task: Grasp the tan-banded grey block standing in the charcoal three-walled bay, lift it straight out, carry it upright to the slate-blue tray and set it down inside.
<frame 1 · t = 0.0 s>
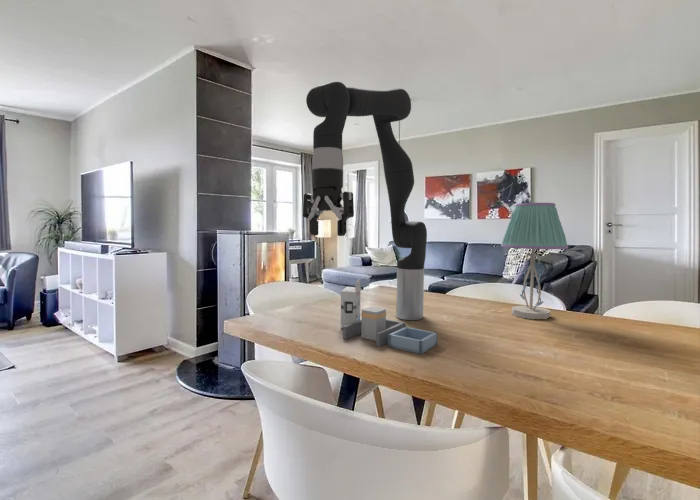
hand: (327, 235, 93), 29 cm above the table, fingers open, 8 cm apart
tan-banded grey block: (373, 337, 108), resting in bay
tray: (412, 345, 100), on the table
ink box: (350, 326, 120), on the table
table lamp: (530, 315, 136), on the table
bay: (373, 336, 108), on the table
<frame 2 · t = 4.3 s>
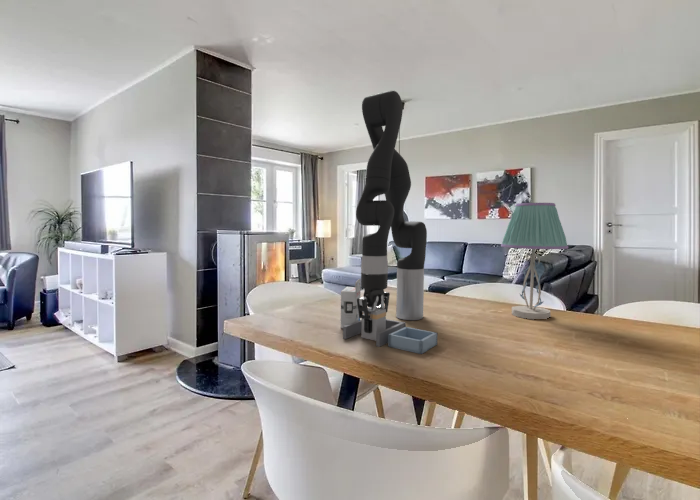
hand: (373, 330, 108), 2 cm above the table, fingers closed on tan-banded grey block, 5 cm apart
tan-banded grey block: (373, 337, 108), resting in bay, touching gripper
everything else where it was.
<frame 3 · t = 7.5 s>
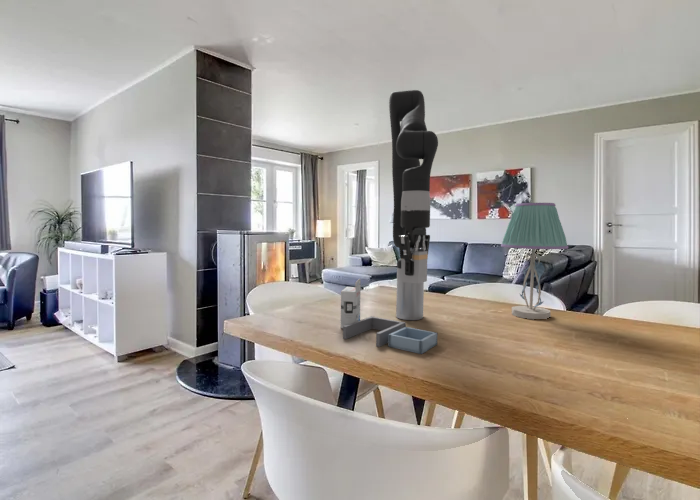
hand: (414, 273, 99), 19 cm above the table, fingers closed on tan-banded grey block, 5 cm apart
tan-banded grey block: (413, 281, 99), point 17 cm above the table, touching gripper
everything else where it was.
when the fingers open (3 cm above the table, at t = 10.9 s): tan-banded grey block stays where it is, resting on tray.
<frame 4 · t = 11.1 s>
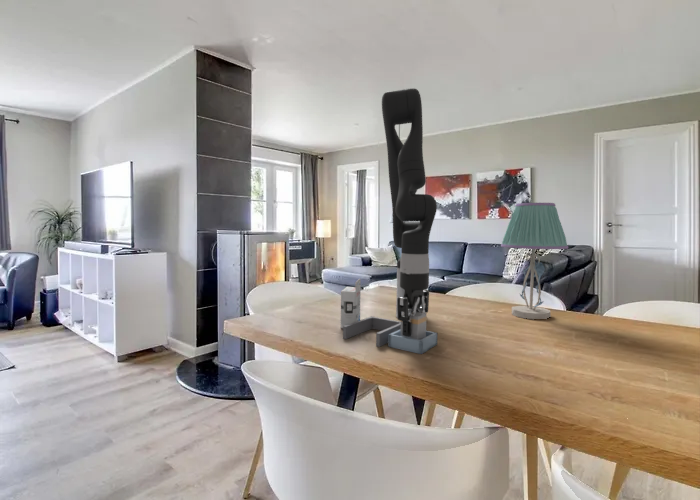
hand: (413, 332, 100), 4 cm above the table, fingers open, 6 cm apart
tan-banded grey block: (413, 343, 100), point 1 cm above the table, touching tray
everything else where it was.
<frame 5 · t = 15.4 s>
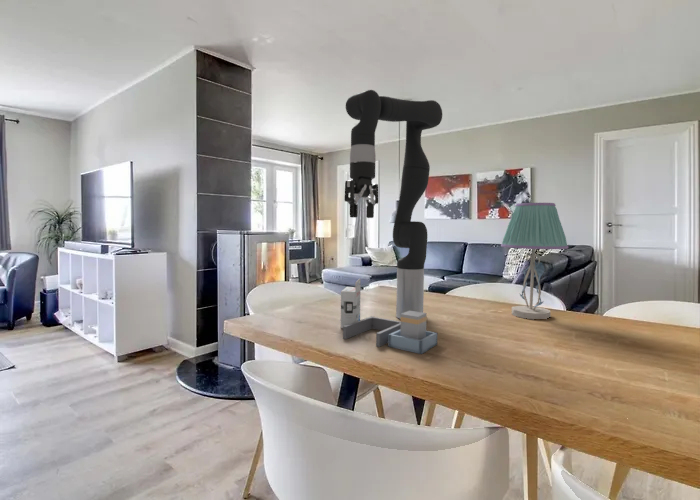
hand: (362, 217, 112), 34 cm above the table, fingers open, 8 cm apart
nothing on the table moved.
at the end: tan-banded grey block 0.1 cm off-centre on the tray, point 0.6 cm above the tray's base; tan-banded grey block tilted 0°; the gripper is holding nothing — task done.
